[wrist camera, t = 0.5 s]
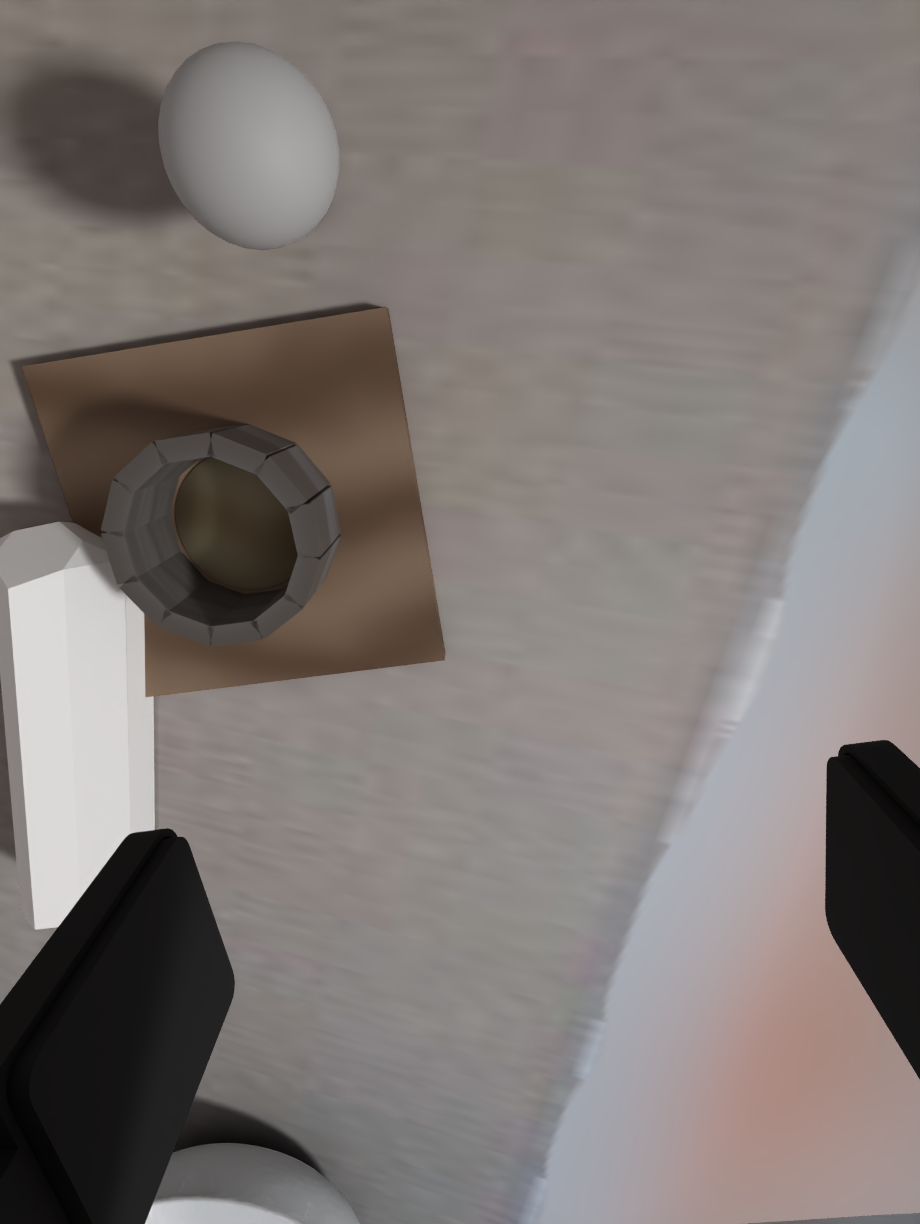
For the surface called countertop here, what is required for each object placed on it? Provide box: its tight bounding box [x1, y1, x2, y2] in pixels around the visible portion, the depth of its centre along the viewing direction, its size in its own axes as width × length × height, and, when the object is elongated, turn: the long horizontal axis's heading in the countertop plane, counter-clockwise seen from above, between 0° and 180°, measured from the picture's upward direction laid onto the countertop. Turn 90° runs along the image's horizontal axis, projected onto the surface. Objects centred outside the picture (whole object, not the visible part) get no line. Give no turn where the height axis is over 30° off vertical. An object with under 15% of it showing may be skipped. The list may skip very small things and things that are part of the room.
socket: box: [22, 307, 445, 697], centre depth 34 cm, size 18×18×6 cm
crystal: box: [0, 522, 155, 930], centre depth 39 cm, size 7×7×24 cm
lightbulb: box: [158, 42, 339, 250], centre depth 27 cm, size 6×6×11 cm
